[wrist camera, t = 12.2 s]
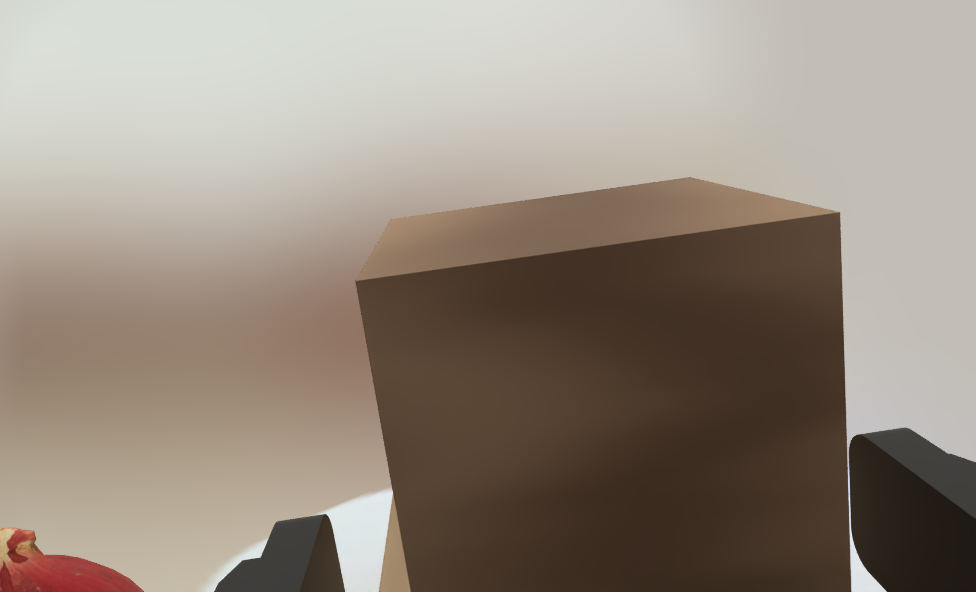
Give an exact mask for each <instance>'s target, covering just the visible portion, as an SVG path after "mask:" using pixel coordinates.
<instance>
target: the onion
mask: <svg viewBox="0 0 976 592" xmlns="http://www.w3.org/2000/svg"><path fill="white" fill-rule="evenodd" d="M35 540H36V537H35V533H34V531H31V530H21V529H17V528H1V529H0V592H144V591H143V590H142V589H141V588H140V587H138V586H137V585H136V584H135V583H134V582H133V581H132V580H130V579H129V578H127V577H125V576H124V575H122V574H120V573H118V572H117V571H115V570H113V569H110V568H108V567H105V566H102V565H100V564H97V563H94V562H91V561H88V560H85V559H81V558H78V557H71V556H65V555H43V553H42V552H41V551H40V550H39V549H38V548H37V546H36V545H35V544H34V542H35Z"/></svg>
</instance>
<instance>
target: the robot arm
mask: <svg viewBox="0 0 976 592" xmlns="http://www.w3.org/2000/svg"><path fill="white" fill-rule="evenodd" d="M849 471H850V504H851V530H852V537H853V541H854V545H855V548H856V551H857V553H858V556H859V558H860V560H861V562H862V563H863V565H864V567H865V568H866V570H867V571H868V572H869V573H870V574H871V575H872V576H873V577H874V578H875V579H876V580H877V582H878V583H879V584H880V585H881V586H882V587H883V588H884V589H885V590H886V591H887V592H976V462H973V461H970V460H967V459H964V458H961V457H958V456H956V455H952V454H947V453H946V452H944V451H943V450H941V449H940V448H938V447H937V446H935V445H934V444H932V443H931V442H929V441H928V440H926V439H925V438H923V437H921V436H920V435H918V434H917V433H915V432H914V431H912V430H910V429H908V428H899V429H893V430H886V431H879V432H872V433H866V434H860V435H856V436H854V437H853V438H852V440H851V443H850V447H849ZM214 592H345V589H344V584H343V579H342V574H341V569H340V564H339V559H338V554H337V549H336V544H335V539H334V534H333V529H332V525H331V522H330V519H329V517H328V516H327V515H326V514H323V515H317V516H310V517H303V518H297V519H290V520H284V521H278V522H276V523H275V525H274V527H273V530H272V532H271V534H270V537H269V539H268V541H267V544H266V546H265V549H264V551H263V553H262V556H261V558H255V559H249V560H243V561H242V562H240V563H239V564H238V565H237V566H236V567H235V568H234V569H233V570H232V571H231V572H230V573H229V574H228V575H227V576H226V577H225V578H224V579H222V580H221V581H220V582H219V583H218V585H217V587H216V589H215V591H214Z"/></svg>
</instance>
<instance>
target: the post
mask: <svg viewBox="0 0 976 592" xmlns="http://www.w3.org/2000/svg"><path fill="white" fill-rule="evenodd" d="M356 286H357V293H358V298H359V304H360V309H361V315H362V321H363V326H364V332H365V338H366V343H367V348H368V354H369V359H370V365H371V371H372V377H373V383H374V388H375V394H376V400H377V405H378V411H379V416H380V422H381V428H382V433H383V439H384V445H385V450H386V455H387V461H388V467H389V473H390V478H391V484H392V490H393V495H394V501H395V506H396V512H397V518H398V523H399V529H400V535H401V540H402V546H403V552H404V557H405V563H406V568H407V574H408V580H409V585H410V591H411V592H851V568H850V534H849V501H848V467H847V433H846V402H845V401H846V399H845V367H844V335H843V334H844V332H843V301H842V300H843V299H842V264H841V231H840V212H836V211H833V210H828V209H824V208H820V207H815V206H811V205H807V204H802V203H798V202H794V201H790V200H785V199H781V198H777V197H772V196H768V195H764V194H759V193H755V192H751V191H746V190H742V189H738V188H734V187H729V186H725V185H721V184H716V183H712V182H708V181H704V180H699V179H695V178H691V177H689V178H682V179H674V180H668V181H660V182H653V183H646V184H639V185H632V186H625V187H617V188H611V189H603V190H596V191H589V192H582V193H575V194H569V195H560V196H553V197H546V198H540V199H532V200H525V201H518V202H511V203H503V204H496V205H490V206H482V207H475V208H468V209H462V210H454V211H446V212H440V213H433V214H426V215H418V216H411V217H404V218H397V219H391V220H390V221H389V223H388V225H387V227H386V228H385V230H384V232H383V234H382V236H381V237H380V239H379V241H378V242H377V244H376V246H375V248H374V249H373V251H372V253H371V255H370V256H369V258H368V260H367V262H366V263H365V265H364V267H363V269H362V270H361V272H360V274H359V276H358V277H357V279H356Z"/></svg>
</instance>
